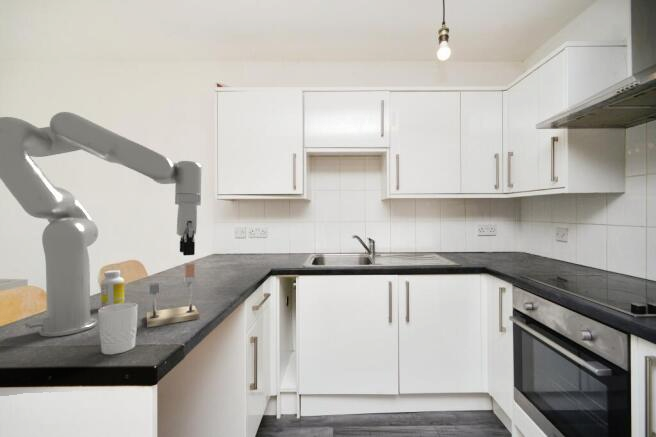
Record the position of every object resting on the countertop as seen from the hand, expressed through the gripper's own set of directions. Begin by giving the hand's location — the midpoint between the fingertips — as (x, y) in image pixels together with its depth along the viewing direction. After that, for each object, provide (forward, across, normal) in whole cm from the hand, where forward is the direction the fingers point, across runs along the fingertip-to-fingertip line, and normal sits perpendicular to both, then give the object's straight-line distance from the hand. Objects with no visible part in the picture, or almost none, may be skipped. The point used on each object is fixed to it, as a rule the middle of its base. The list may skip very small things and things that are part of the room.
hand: (186, 253), depth 100 cm
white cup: (+20, +19, -17) cm, 33 cm away
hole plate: (+20, 0, -4) cm, 20 cm away
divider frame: (+18, +1, -3) cm, 18 cm away
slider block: (+18, 0, +1) cm, 18 cm away
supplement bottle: (+21, -24, -21) cm, 38 cm away
